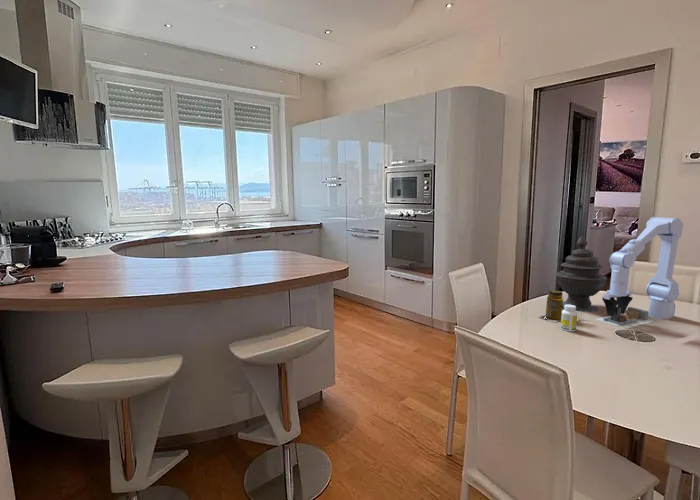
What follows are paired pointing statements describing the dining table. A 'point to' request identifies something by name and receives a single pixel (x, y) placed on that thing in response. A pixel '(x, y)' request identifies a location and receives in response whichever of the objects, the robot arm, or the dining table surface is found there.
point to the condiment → (554, 306)
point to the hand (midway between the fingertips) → (615, 314)
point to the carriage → (617, 316)
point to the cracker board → (630, 323)
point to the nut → (632, 314)
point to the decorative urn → (581, 278)
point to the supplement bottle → (569, 318)
